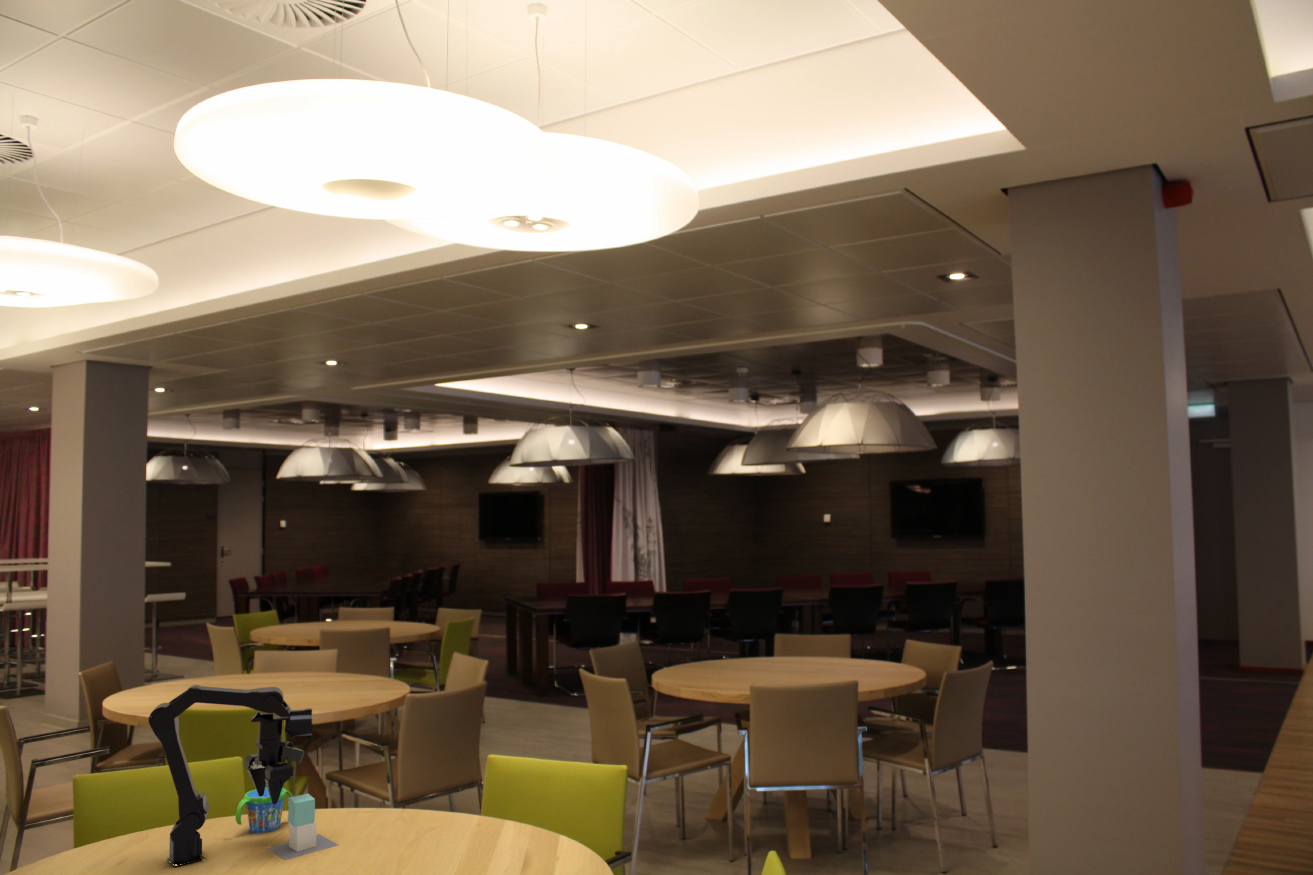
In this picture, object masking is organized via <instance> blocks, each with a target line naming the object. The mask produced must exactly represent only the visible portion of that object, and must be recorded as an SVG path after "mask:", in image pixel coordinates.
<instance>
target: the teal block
mask: <svg viewBox="0 0 1313 875" xmlns="http://www.w3.org/2000/svg"><path fill="white" fill-rule="evenodd" d="M287 804H288V805H287V812H288V813H287V822H288V823H291V824H292V825H293V826H294V827H298V826H302V825H306V824H311V823H314V821H315V813H316V811H315V810H316V799H315V797H313V796H312V795H311V794H309V793H304V794H300V795H295V796H294V795H293V797H289V796H288V803H287Z"/></svg>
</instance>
